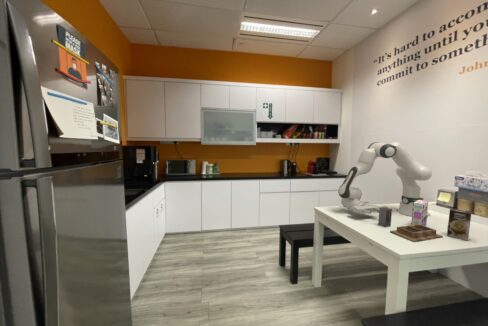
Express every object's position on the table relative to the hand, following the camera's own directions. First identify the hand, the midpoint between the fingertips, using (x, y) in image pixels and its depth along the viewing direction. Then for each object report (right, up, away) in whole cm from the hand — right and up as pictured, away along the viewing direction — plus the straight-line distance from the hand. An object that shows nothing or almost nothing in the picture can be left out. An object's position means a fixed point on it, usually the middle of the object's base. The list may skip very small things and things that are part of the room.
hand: (375, 212), depth 151 cm
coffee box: (+35, -10, -23) cm, 43 cm away
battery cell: (+2, -8, -7) cm, 10 cm away
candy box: (+27, -8, -5) cm, 28 cm away
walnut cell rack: (+12, -9, -21) cm, 26 cm away
